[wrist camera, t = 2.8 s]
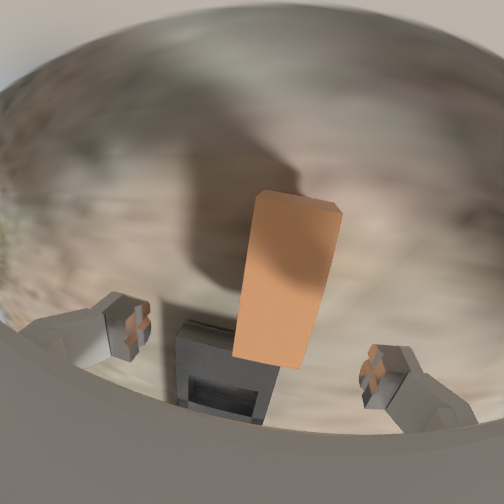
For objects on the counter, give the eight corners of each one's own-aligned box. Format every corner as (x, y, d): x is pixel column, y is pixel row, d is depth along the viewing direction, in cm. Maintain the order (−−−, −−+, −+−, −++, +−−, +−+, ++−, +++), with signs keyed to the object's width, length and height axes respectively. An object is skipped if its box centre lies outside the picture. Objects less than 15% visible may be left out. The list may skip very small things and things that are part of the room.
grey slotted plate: (284, 341, 19) (281, 361, 17) (253, 443, 23) (250, 460, 21) (187, 319, 19) (175, 336, 17) (186, 427, 24) (179, 442, 22)
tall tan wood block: (330, 197, 15) (342, 213, 11) (301, 319, 18) (299, 369, 13) (269, 186, 16) (255, 196, 11) (249, 309, 18) (232, 356, 14)
